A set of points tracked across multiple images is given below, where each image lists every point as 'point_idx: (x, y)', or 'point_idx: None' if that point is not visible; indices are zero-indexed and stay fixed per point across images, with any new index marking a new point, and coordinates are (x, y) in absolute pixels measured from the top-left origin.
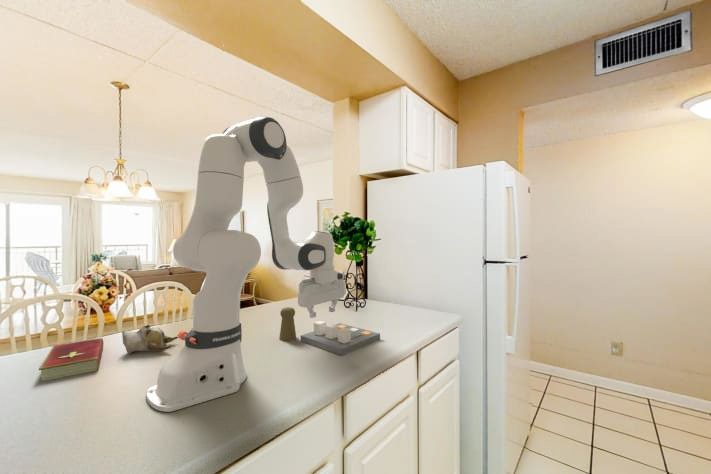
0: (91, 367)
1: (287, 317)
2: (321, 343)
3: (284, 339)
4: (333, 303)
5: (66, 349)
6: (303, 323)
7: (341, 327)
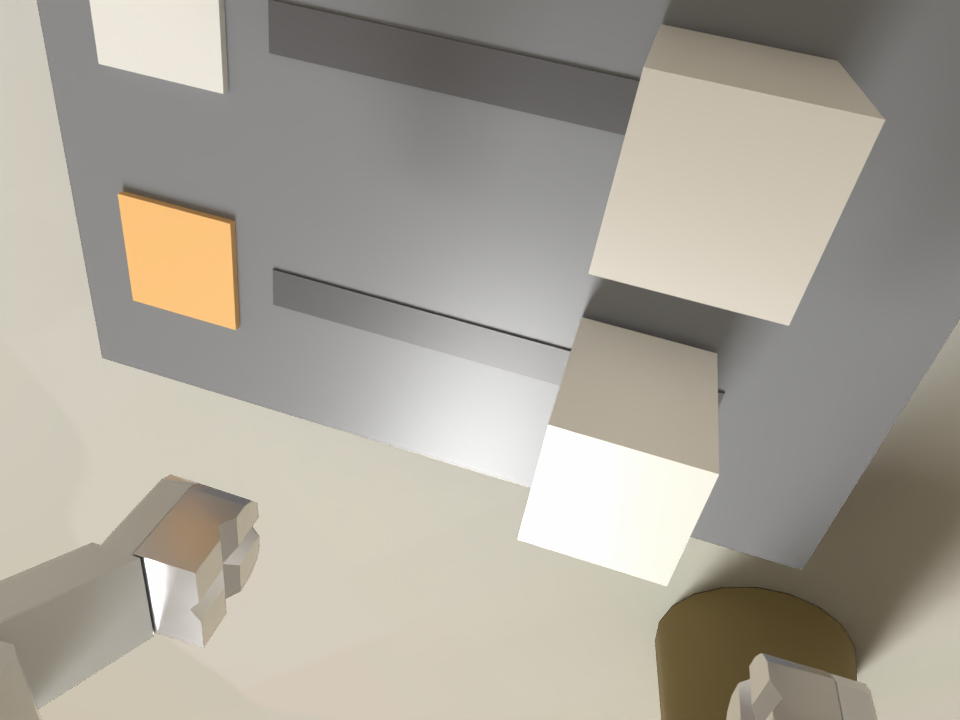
0: None
1: None
2: None
3: (855, 667)
4: (51, 648)
5: None
6: (299, 672)
7: (221, 244)
